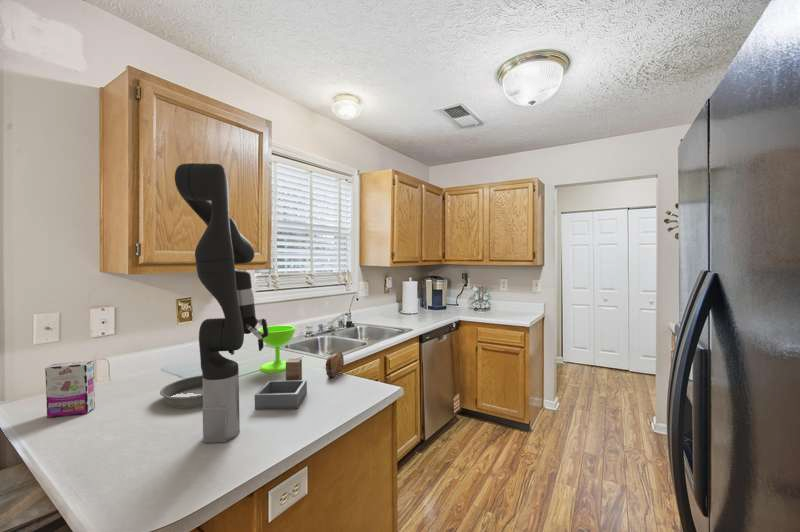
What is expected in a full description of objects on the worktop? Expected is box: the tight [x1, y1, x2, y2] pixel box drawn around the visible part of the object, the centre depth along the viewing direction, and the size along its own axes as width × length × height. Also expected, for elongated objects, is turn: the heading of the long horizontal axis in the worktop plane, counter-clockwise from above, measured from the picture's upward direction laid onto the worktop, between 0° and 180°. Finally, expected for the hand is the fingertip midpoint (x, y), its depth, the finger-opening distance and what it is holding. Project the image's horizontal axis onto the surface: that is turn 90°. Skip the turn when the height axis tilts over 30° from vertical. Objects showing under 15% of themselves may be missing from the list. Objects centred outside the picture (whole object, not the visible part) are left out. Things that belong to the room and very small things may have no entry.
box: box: [254, 379, 308, 411], centre depth 128 cm, size 14×14×5 cm
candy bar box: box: [44, 360, 96, 419], centre depth 120 cm, size 11×5×16 cm, turn 105°
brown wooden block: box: [285, 358, 303, 381], centre depth 144 cm, size 5×5×10 cm
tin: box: [325, 352, 345, 378], centre depth 158 cm, size 15×3×8 cm, turn 168°
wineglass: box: [258, 325, 296, 374], centre depth 168 cm, size 16×16×18 cm
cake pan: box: [159, 374, 203, 408], centre depth 134 cm, size 25×25×4 cm
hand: (246, 352), depth 120 cm, fingers open, 8 cm apart
